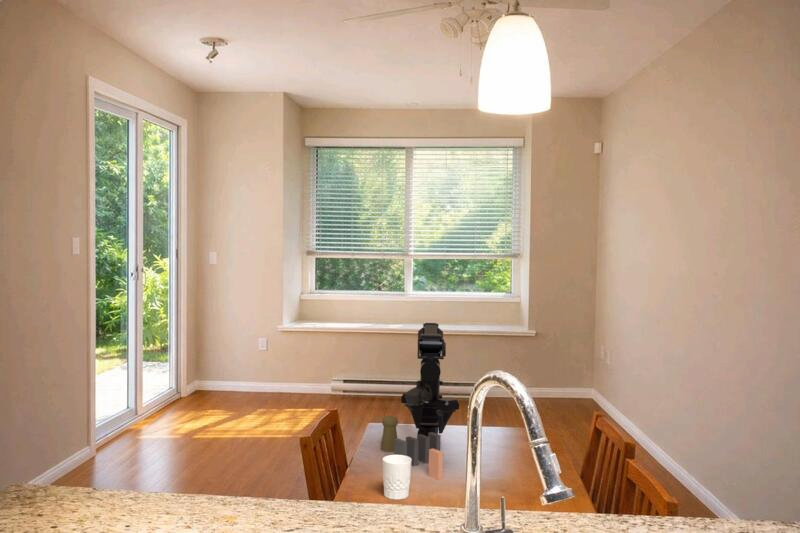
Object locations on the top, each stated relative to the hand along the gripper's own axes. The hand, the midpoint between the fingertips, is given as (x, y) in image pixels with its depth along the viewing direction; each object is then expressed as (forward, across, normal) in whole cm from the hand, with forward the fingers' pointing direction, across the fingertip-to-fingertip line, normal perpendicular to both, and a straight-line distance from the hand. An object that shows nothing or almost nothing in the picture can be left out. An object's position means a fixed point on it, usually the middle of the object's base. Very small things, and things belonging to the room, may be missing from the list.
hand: (428, 430), depth 199 cm
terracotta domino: (+14, +1, +2) cm, 14 cm away
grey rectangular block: (+13, -13, +6) cm, 19 cm away
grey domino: (+13, -12, +10) cm, 21 cm away
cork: (+12, -28, +11) cm, 33 cm away
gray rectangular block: (+13, -12, +15) cm, 23 cm away
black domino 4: (+13, -13, +2) cm, 19 cm away
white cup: (+15, +4, -16) cm, 22 cm away
